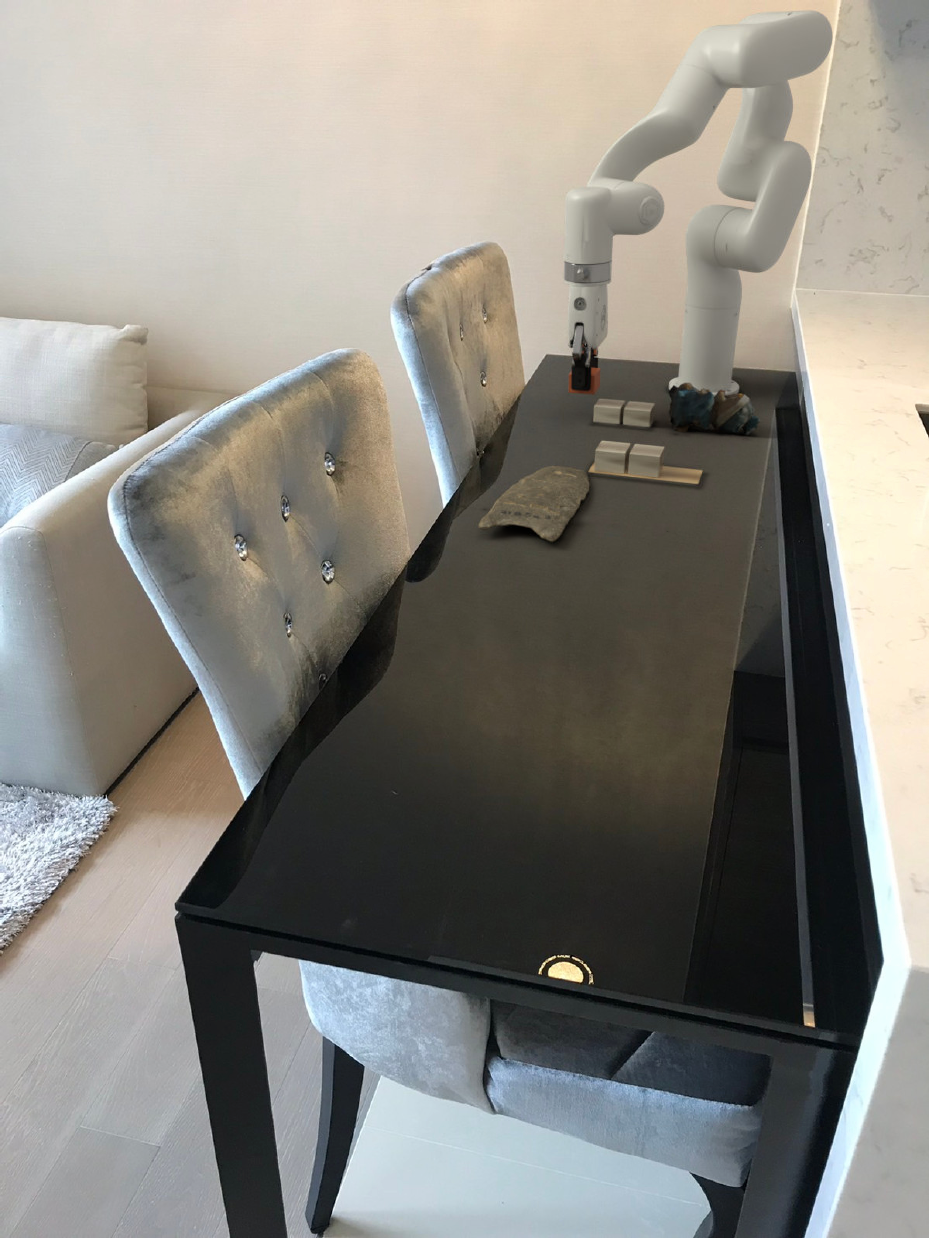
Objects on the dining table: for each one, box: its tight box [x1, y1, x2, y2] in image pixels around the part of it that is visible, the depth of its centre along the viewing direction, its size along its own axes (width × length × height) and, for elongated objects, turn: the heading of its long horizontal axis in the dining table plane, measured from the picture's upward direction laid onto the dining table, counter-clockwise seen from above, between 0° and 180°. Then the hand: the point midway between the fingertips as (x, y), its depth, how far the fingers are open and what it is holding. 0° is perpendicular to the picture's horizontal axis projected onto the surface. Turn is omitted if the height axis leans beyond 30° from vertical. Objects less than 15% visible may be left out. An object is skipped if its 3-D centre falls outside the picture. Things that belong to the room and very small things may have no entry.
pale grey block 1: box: [594, 440, 632, 474], centre depth 148 cm, size 4×4×3 cm
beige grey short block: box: [592, 398, 626, 425], centre depth 168 cm, size 4×4×3 cm
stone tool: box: [478, 465, 590, 542], centre depth 136 cm, size 11×3×25 cm
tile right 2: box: [628, 443, 666, 478], centre depth 146 cm, size 4×4×3 cm
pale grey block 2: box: [622, 400, 656, 428], centre depth 166 cm, size 4×4×3 cm
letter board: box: [588, 461, 704, 485], centre depth 147 cm, size 6×16×1 cm, turn 71°
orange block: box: [568, 367, 601, 395], centre depth 167 cm, size 4×4×3 cm
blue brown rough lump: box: [668, 383, 762, 436], centre depth 161 cm, size 9×8×15 cm
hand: (584, 384), depth 167 cm, fingers closed on orange block, 4 cm apart
